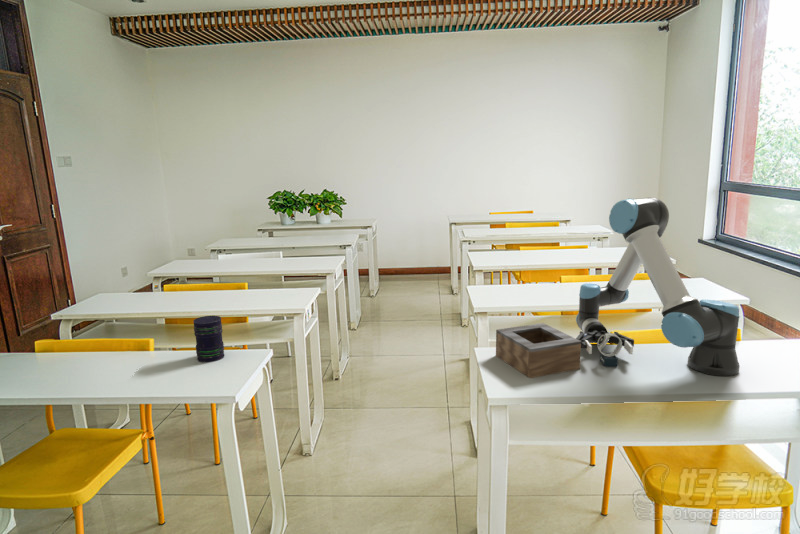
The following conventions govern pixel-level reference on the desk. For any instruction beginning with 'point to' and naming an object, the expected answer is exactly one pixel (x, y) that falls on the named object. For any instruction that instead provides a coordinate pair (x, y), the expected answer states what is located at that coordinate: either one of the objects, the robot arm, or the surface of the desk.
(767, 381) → the desk surface
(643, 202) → the robot arm
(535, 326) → the box
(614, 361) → the watch
